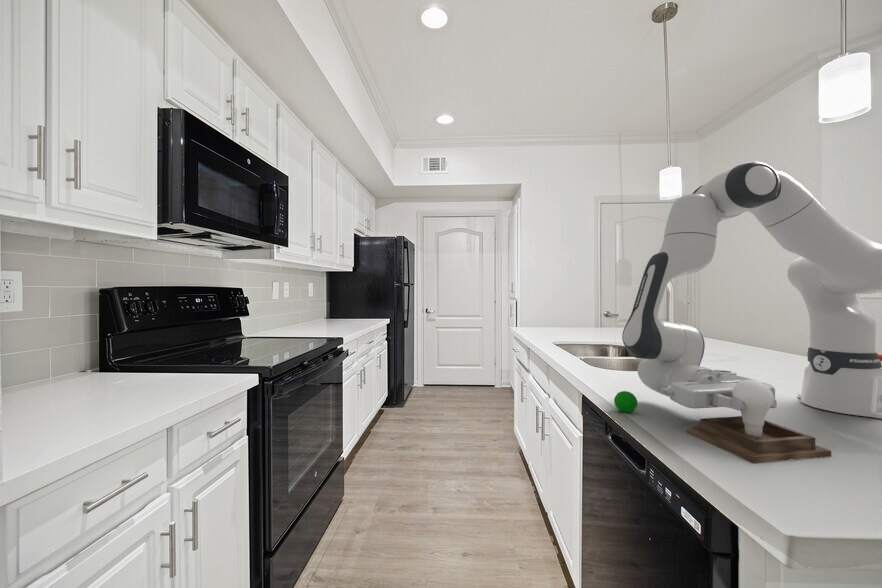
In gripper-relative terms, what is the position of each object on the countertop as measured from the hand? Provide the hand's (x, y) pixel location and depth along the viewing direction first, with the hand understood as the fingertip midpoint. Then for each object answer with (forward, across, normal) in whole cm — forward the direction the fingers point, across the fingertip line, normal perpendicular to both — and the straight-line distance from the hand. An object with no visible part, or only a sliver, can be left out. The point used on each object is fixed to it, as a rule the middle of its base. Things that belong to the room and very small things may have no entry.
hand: (758, 405), depth 72 cm
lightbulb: (-1, 0, +7) cm, 7 cm away
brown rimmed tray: (-1, 0, +8) cm, 8 cm away
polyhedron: (-22, -12, +8) cm, 26 cm away
